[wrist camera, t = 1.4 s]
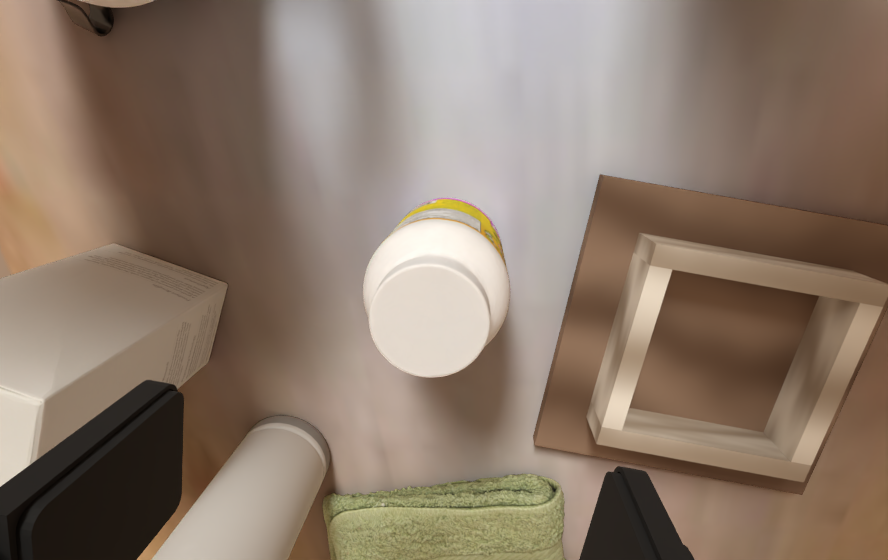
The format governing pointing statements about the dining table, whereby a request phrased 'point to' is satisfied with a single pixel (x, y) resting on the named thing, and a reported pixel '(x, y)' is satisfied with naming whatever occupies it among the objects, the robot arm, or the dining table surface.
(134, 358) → the skincare box
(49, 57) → the dining table surface
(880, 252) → the collar dock
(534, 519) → the washcloth
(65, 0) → the coffee press
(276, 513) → the travel mug
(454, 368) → the supplement bottle
